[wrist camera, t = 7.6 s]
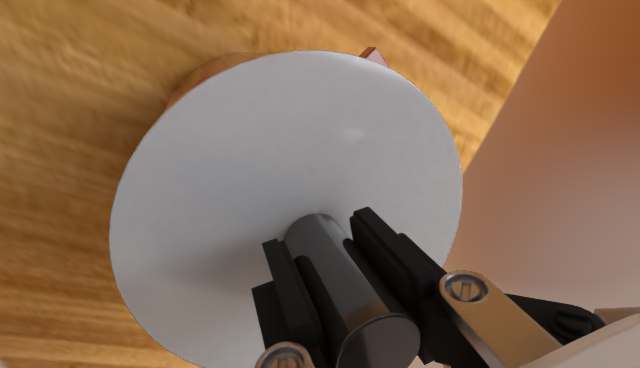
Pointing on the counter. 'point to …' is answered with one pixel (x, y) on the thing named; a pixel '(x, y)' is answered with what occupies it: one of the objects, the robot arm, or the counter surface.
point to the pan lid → (282, 205)
